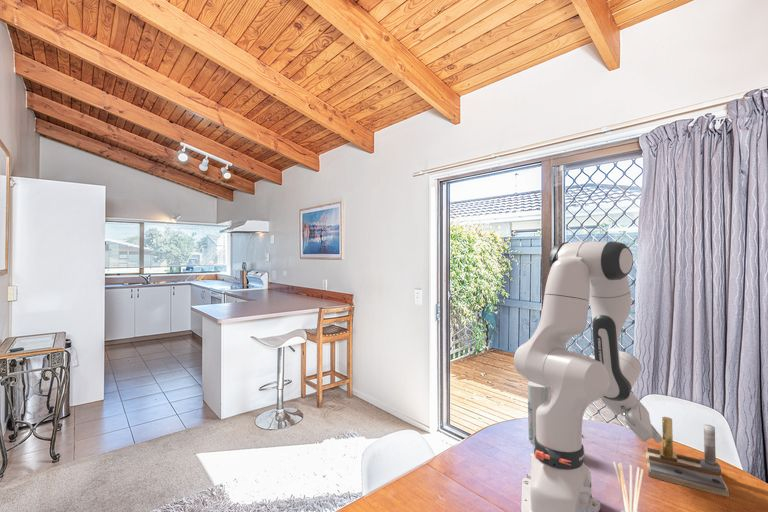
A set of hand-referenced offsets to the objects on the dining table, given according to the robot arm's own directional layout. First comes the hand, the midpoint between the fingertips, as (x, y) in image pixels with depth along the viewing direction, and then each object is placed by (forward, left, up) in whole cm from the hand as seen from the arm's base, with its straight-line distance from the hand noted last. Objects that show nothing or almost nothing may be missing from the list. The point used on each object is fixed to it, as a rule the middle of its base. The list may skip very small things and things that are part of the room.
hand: (660, 440), depth 111 cm
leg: (0, -2, -5) cm, 5 cm away
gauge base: (-4, -5, -7) cm, 9 cm away
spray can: (-7, +34, -7) cm, 35 cm away
